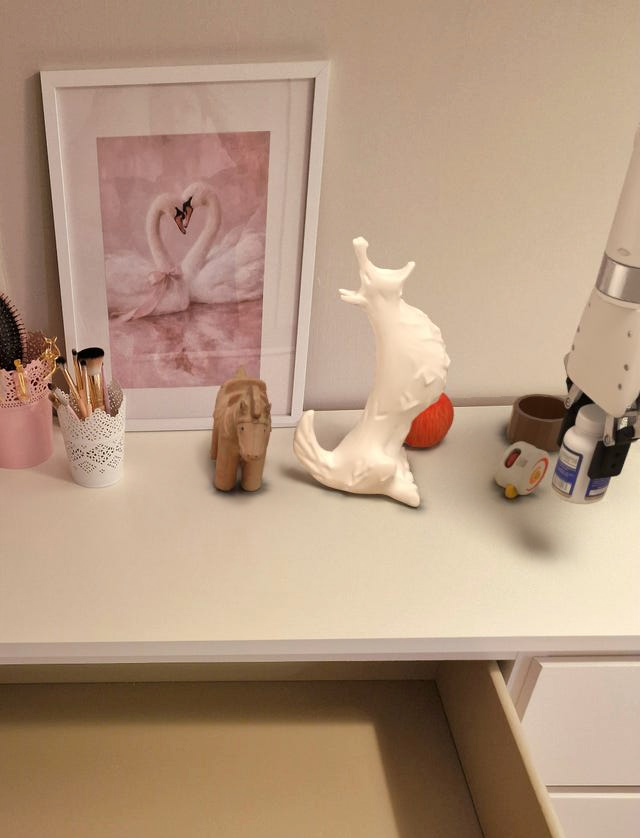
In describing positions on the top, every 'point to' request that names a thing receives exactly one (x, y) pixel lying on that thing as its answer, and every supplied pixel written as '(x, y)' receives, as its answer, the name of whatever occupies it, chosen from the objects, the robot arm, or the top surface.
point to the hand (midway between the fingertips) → (587, 458)
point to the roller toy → (521, 469)
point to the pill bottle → (581, 458)
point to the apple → (431, 424)
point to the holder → (537, 421)
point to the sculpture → (382, 391)
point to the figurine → (240, 431)
